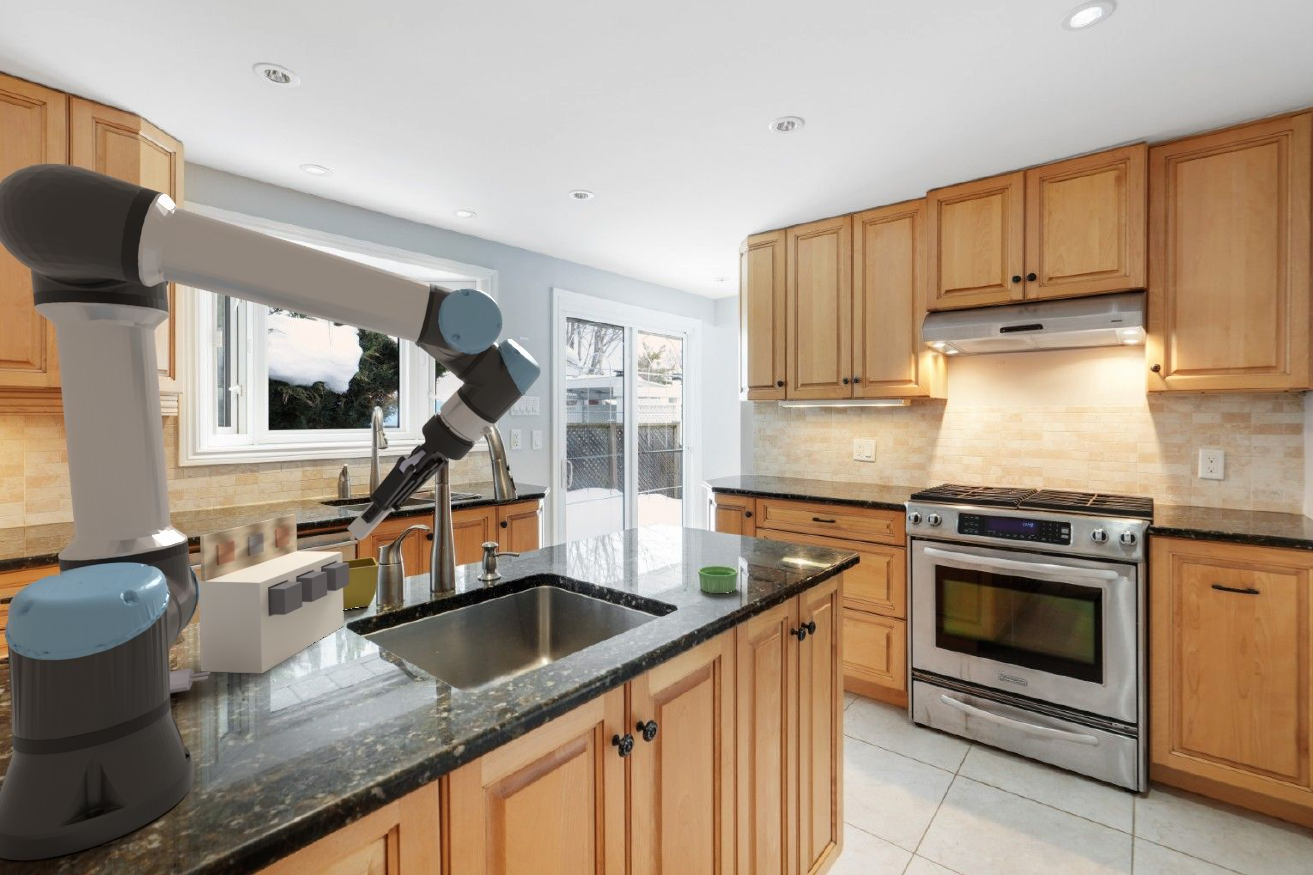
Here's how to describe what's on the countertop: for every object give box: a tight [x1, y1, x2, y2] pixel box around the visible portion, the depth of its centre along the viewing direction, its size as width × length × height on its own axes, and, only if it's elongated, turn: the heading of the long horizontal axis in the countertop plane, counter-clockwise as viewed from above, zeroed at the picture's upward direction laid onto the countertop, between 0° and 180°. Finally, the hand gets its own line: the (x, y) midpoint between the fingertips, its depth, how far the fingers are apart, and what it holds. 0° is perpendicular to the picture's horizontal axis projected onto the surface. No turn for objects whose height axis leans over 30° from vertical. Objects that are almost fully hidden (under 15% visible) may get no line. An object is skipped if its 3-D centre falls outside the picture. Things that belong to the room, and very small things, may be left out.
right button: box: [321, 563, 349, 591], centre depth 110 cm, size 4×3×4 cm
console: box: [198, 550, 345, 675], centre depth 104 cm, size 21×10×14 cm, turn 175°
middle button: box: [296, 572, 327, 602], centre depth 104 cm, size 4×3×4 cm
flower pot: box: [342, 556, 379, 610], centre depth 126 cm, size 9×9×9 cm
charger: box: [170, 668, 211, 694], centre depth 84 cm, size 5×9×15 cm
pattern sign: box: [199, 513, 298, 581], centre depth 104 cm, size 21×1×7 cm, turn 175°
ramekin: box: [697, 565, 739, 594], centre depth 139 cm, size 9×9×4 cm
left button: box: [268, 582, 302, 615], centre depth 97 cm, size 4×3×4 cm
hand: (356, 533), depth 96 cm, fingers closed
